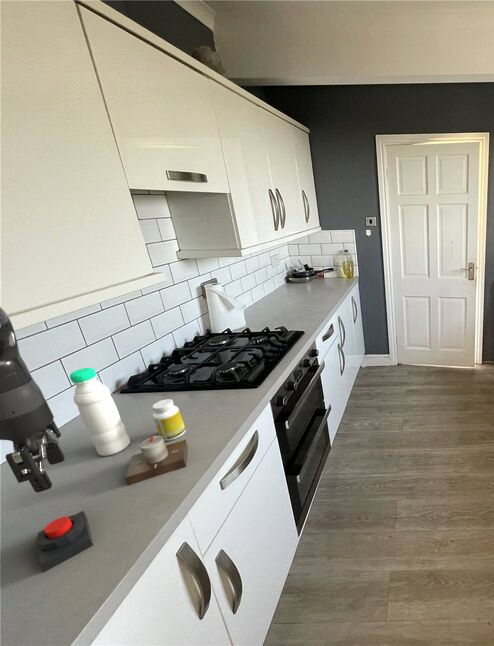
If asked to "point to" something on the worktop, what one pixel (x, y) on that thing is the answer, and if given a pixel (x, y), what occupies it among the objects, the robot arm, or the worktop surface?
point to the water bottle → (99, 413)
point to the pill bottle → (168, 420)
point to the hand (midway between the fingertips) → (51, 475)
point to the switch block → (65, 543)
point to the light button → (58, 527)
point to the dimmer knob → (154, 449)
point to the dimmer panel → (145, 471)
